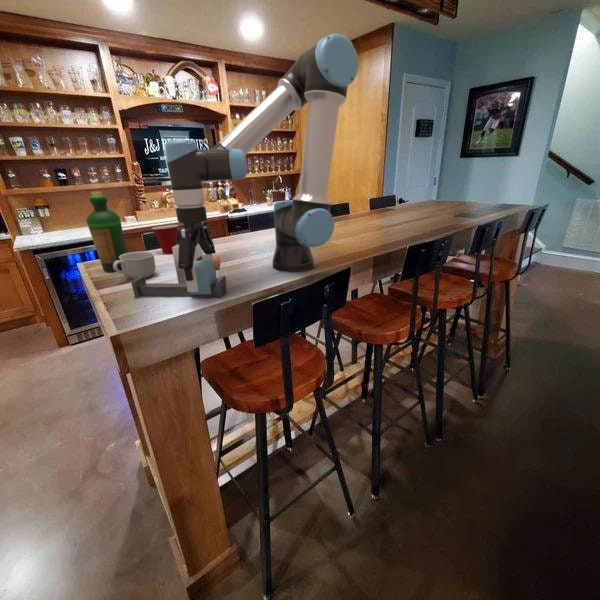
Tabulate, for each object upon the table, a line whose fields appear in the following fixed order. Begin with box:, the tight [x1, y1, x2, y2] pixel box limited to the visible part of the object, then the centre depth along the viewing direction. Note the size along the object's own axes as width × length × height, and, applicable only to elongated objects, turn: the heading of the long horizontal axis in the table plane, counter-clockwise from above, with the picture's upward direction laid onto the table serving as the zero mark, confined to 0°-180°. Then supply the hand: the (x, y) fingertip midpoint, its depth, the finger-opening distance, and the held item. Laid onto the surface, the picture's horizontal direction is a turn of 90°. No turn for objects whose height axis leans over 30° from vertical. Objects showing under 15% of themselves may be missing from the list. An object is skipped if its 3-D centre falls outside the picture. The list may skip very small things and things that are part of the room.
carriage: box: [190, 261, 218, 294], centre depth 91 cm, size 6×7×8 cm
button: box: [199, 255, 221, 271], centre depth 102 cm, size 6×4×4 cm
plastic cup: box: [151, 224, 179, 255], centre depth 141 cm, size 11×11×12 cm
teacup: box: [113, 250, 156, 280], centre depth 109 cm, size 14×11×8 cm
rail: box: [130, 275, 228, 299], centre depth 93 cm, size 26×5×5 cm, turn 85°
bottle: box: [85, 190, 127, 273], centre depth 115 cm, size 11×11×28 cm
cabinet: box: [172, 243, 204, 283], centre depth 103 cm, size 7×6×12 cm
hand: (202, 282), depth 92 cm, fingers open, 13 cm apart
